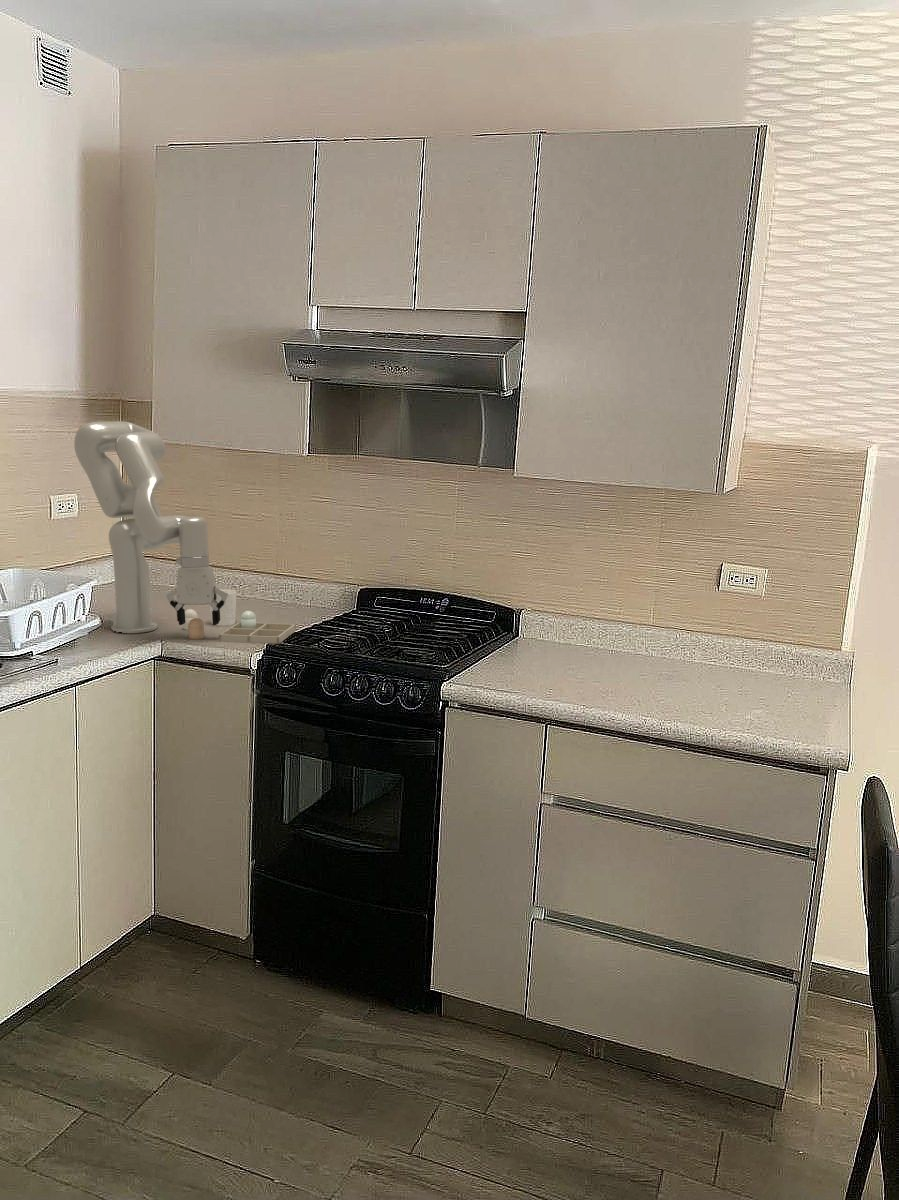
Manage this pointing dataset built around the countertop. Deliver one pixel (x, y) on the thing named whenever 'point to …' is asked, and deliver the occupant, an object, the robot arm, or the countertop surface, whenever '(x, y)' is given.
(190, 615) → the white egg
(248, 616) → the green egg
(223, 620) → the white cup
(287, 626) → the egg tray
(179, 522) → the robot arm
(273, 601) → the countertop surface
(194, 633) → the brown egg
